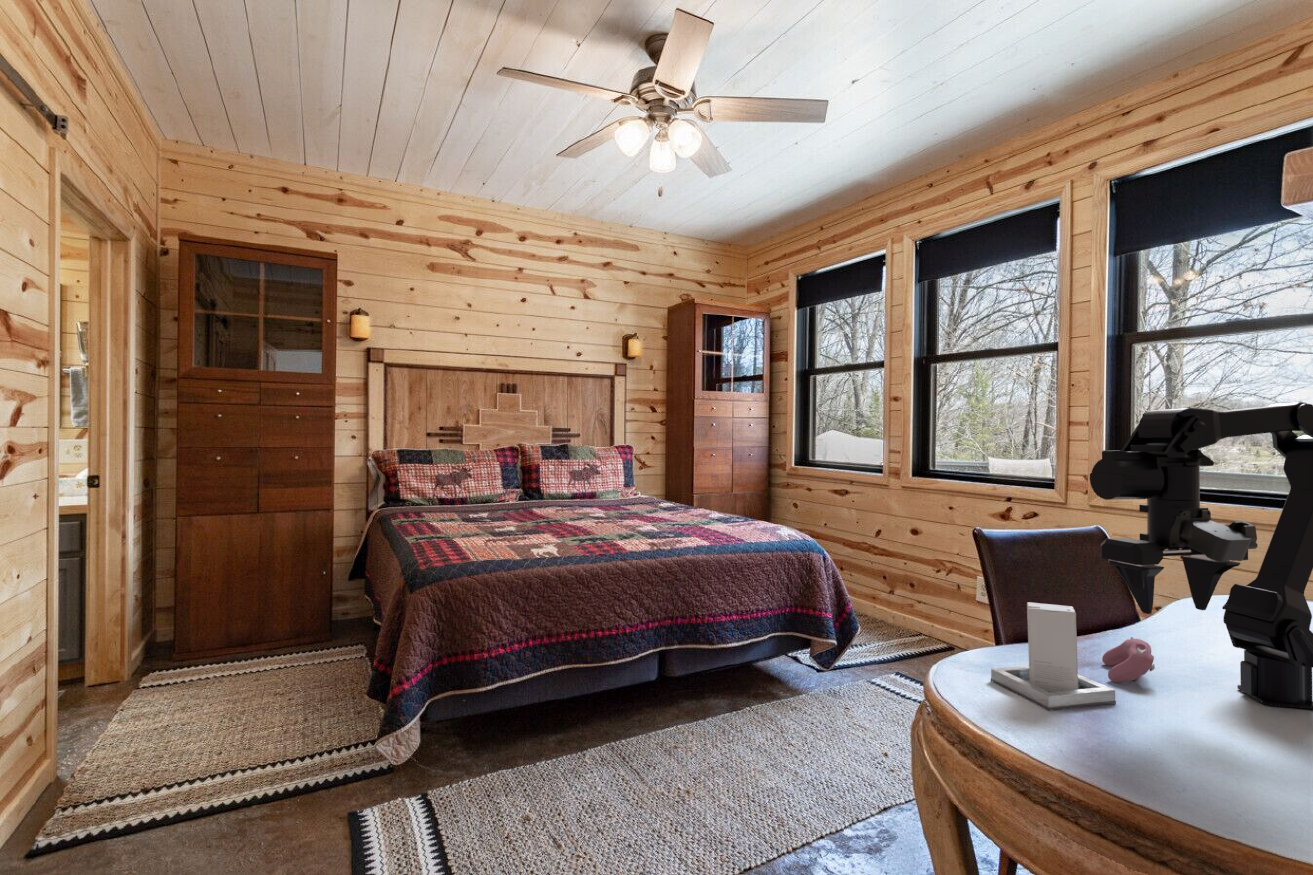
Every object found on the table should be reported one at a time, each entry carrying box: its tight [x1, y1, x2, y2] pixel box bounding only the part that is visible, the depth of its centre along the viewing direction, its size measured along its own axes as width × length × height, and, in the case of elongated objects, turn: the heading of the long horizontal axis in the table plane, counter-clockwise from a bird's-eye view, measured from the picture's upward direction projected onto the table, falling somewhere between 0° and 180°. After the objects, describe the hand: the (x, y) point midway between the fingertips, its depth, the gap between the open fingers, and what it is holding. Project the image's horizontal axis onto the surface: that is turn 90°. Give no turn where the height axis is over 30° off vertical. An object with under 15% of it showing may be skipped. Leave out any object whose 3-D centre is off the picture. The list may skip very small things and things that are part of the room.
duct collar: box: [990, 664, 1117, 712], centre depth 93 cm, size 11×11×2 cm
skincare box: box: [1026, 601, 1079, 692], centre depth 93 cm, size 6×4×12 cm
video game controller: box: [1101, 636, 1156, 684], centre depth 99 cm, size 10×5×7 cm, turn 150°
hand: (1174, 611), depth 88 cm, fingers open, 9 cm apart
